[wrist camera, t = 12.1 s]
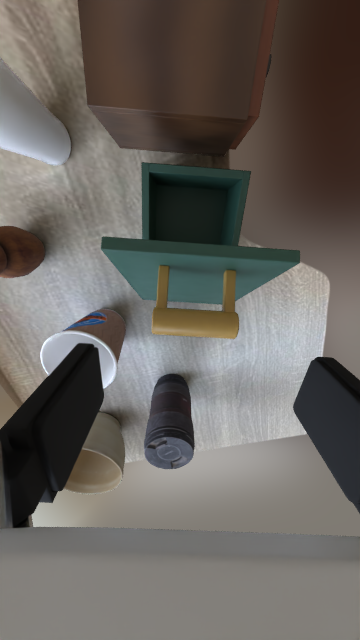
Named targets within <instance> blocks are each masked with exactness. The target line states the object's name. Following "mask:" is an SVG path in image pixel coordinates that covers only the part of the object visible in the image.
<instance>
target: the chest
mask: <svg viewBox="0 0 360 640" xmlns="http://www.w3.org/2000/svg"><path fill="white" fill-rule="evenodd" d="M250 174H251V171H243V170H242V171H241V170H231V169H218V168H206V167H193V166H181V165H168V164H156V163H144V162H142V239H143V240H157V241H171V242H185V243H200V244H214V245H228V246H238V242H239V237H240V231H241V225H242V220H243V214H244V208H245V203H246V196H247V191H248V185H249V180H250Z"/></svg>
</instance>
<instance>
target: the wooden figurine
mask: <svg viewBox="0 0 360 640" xmlns="http://www.w3.org/2000/svg"><path fill="white" fill-rule="evenodd" d="M44 257H45V248H44V246H43V243H42V242H41V241H40V239H39V238H37V237H36V236H34V235H33V234H31V233H30V232H27V231H25V230H23V229H20V228H17V227H13V226H2V227H0V277H4V278H14V277H20V276H25V275H27V274H29V273H31V272H32V271H33V270H35V269H36V268H37V267H38V266H39V265H40V264H41V262H42V261H43V260H44Z"/></svg>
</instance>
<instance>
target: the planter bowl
mask: <svg viewBox="0 0 360 640" xmlns="http://www.w3.org/2000/svg"><path fill="white" fill-rule="evenodd" d="M124 462H125V445H124V440H123V436H122V434H121V431H120V424H119V422H118V421H117V420H116V419H115V418H114V417H113V416H111V415H109V414H106V413H100V412H98V414H97V416H96V418H95V421H94V423H93V425H92V427H91V429H90V432H89V434H88V436H87V438H86V441H85V443H84V445H83V447H82V450H81V452H80V454H79V456H78V458H77V461H76V463H75V465H74V467H73V470H72V472H71V474H70V476H69V479H68V481H67V483H66V485H65V487H64V488H63V489H66V490H68V491H72V492H76V493H82V494H98V493H105V492H108V491H111V490H113V489H115V488H116V487H117V486H118V485H119V484H120V483H121V481H122V478H123V468H124Z"/></svg>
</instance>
